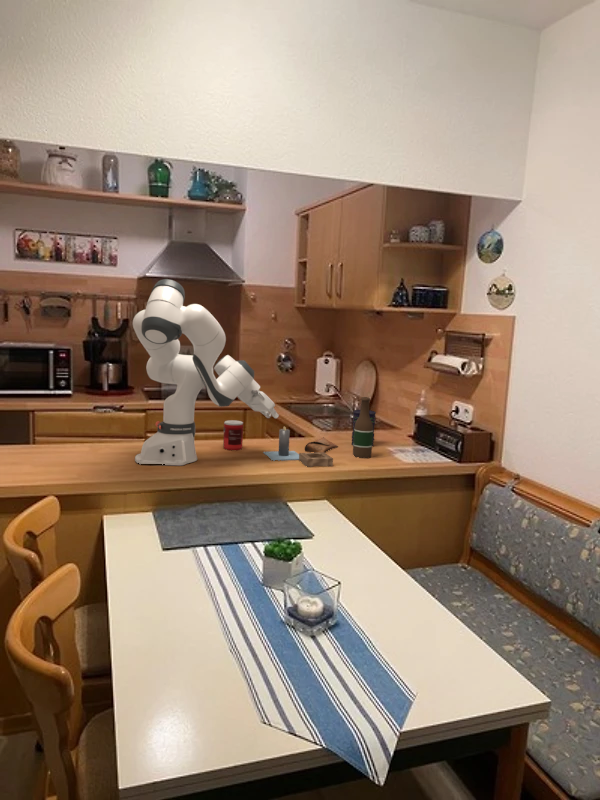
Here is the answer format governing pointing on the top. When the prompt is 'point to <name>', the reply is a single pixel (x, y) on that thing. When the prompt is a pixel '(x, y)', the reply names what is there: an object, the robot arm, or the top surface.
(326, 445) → the sunglasses case
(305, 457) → the socket
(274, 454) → the mat
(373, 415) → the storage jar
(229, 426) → the canned food
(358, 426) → the beer bottle
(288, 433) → the plug
